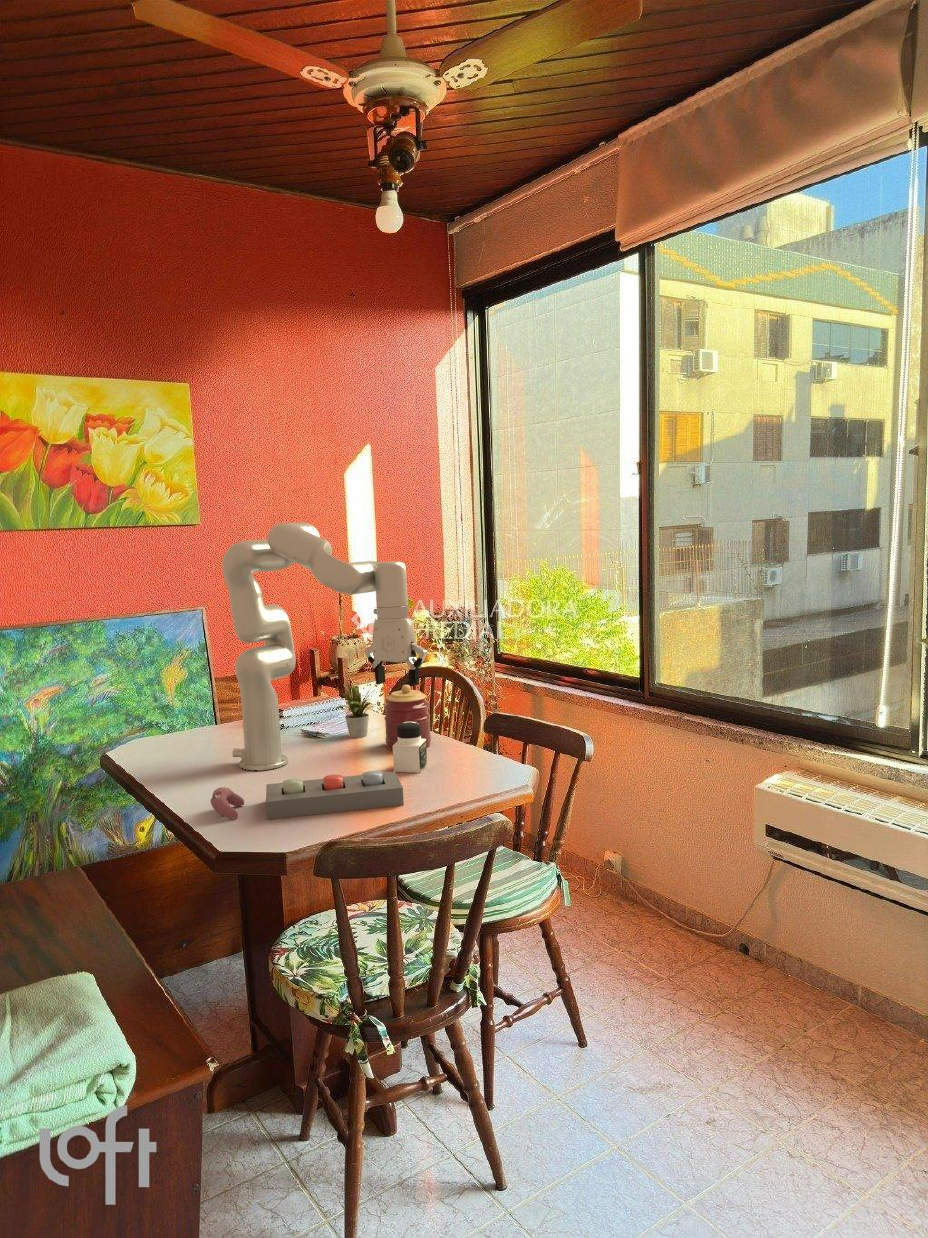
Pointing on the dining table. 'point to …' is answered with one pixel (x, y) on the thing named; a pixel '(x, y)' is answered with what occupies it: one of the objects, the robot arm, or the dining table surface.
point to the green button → (293, 786)
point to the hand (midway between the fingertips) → (397, 684)
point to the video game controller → (226, 802)
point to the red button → (333, 782)
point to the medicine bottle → (409, 749)
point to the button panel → (333, 797)
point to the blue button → (372, 778)
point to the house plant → (356, 713)
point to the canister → (406, 713)
